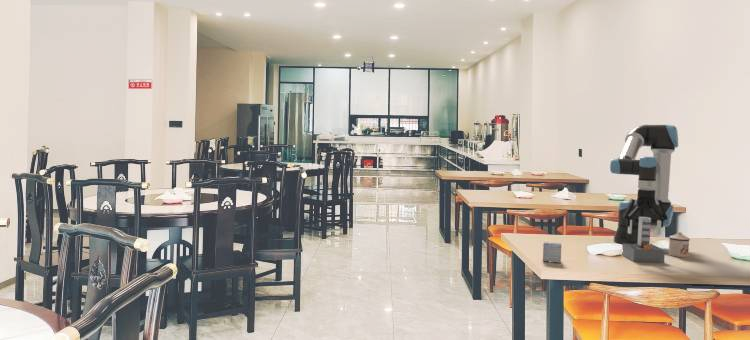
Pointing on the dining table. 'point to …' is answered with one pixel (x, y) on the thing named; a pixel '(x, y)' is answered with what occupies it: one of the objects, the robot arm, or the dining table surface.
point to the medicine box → (552, 252)
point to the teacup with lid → (678, 245)
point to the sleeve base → (643, 253)
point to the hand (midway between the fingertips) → (643, 233)
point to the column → (644, 231)
